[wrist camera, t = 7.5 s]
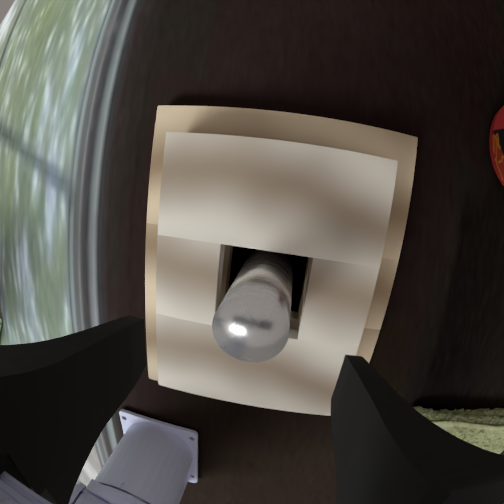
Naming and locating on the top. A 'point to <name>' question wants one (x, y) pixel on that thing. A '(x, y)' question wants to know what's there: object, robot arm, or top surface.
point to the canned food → (497, 144)
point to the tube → (256, 309)
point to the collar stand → (271, 244)
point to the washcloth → (471, 425)
